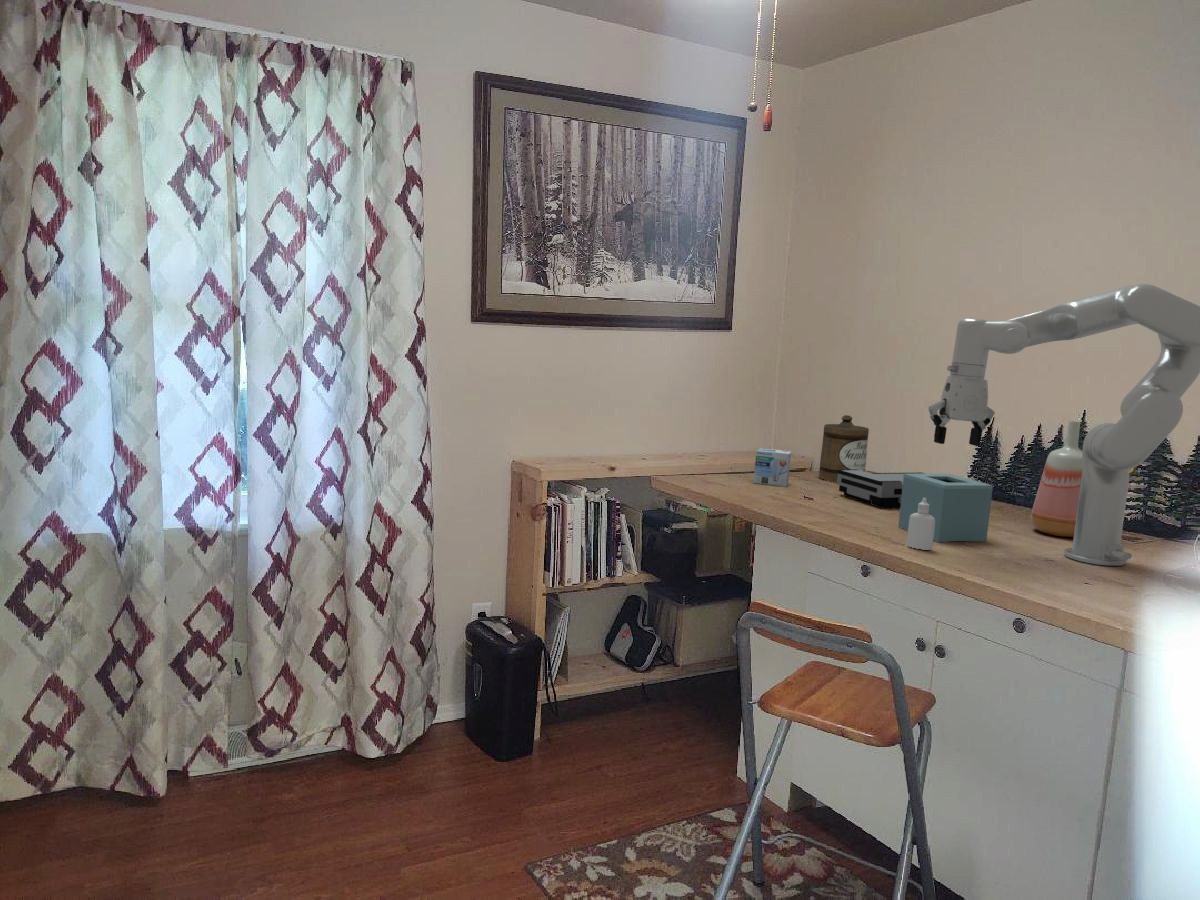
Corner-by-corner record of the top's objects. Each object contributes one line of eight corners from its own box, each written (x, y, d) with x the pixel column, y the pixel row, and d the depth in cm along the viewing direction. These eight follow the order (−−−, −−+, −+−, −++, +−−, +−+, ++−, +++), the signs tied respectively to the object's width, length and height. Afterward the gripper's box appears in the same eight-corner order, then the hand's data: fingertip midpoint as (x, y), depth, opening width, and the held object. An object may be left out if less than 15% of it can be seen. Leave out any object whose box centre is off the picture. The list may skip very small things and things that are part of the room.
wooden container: (848, 485, 292) (854, 418, 289) (810, 477, 303) (815, 413, 300) (872, 481, 302) (878, 417, 299) (834, 474, 313) (840, 412, 310)
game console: (967, 507, 265) (970, 480, 264) (879, 510, 254) (882, 481, 253) (919, 494, 285) (922, 468, 283) (835, 495, 273) (838, 469, 272)
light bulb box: (752, 483, 286) (755, 450, 284) (755, 480, 292) (758, 447, 290) (786, 486, 282) (789, 453, 281) (788, 483, 289) (791, 450, 287)
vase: (1057, 526, 243) (1071, 418, 239) (1103, 539, 230) (1119, 425, 225) (1016, 528, 238) (1030, 417, 233) (1062, 541, 224) (1077, 424, 220)
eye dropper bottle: (919, 545, 212) (924, 495, 210) (935, 551, 206) (940, 500, 205) (903, 545, 210) (909, 495, 209) (919, 551, 205) (924, 500, 203)
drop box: (986, 541, 220) (992, 485, 218) (938, 542, 216) (944, 485, 214) (944, 526, 235) (949, 473, 233) (898, 527, 231) (903, 473, 229)
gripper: (945, 370, 203) (934, 444, 206) (1010, 376, 207) (998, 448, 210) (926, 367, 210) (915, 439, 213) (988, 373, 215) (977, 443, 217)
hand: (956, 444), depth 211 cm, fingers open, 9 cm apart
